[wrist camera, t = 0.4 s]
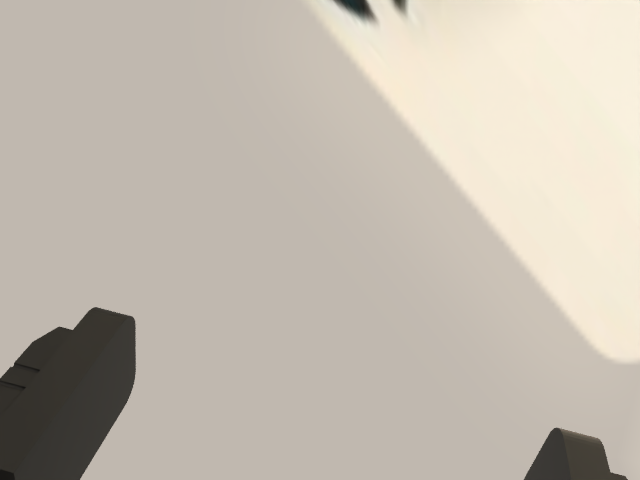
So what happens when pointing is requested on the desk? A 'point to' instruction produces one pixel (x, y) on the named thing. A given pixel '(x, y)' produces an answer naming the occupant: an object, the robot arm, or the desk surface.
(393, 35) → the desk surface
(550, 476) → the robot arm
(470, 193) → the desk surface
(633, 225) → the desk surface
